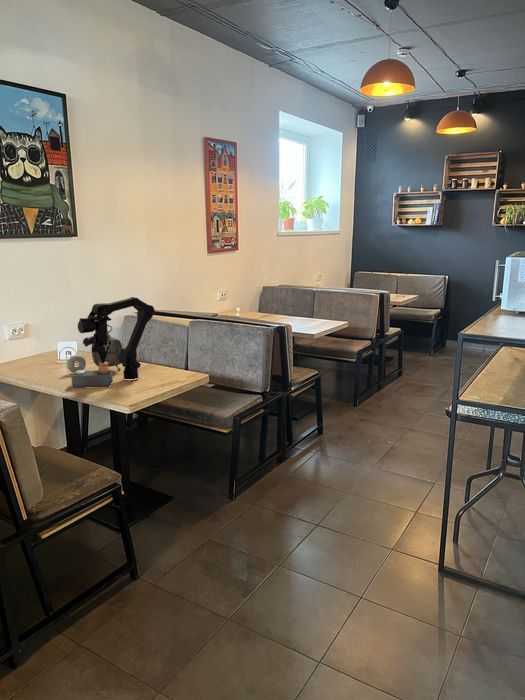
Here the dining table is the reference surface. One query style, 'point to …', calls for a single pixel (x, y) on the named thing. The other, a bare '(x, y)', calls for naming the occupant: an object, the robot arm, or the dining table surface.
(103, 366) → the terracotta plunger
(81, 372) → the plunger
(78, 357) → the donut
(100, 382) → the press block
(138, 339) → the robot arm
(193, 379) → the dining table surface
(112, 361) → the tabletop clock
